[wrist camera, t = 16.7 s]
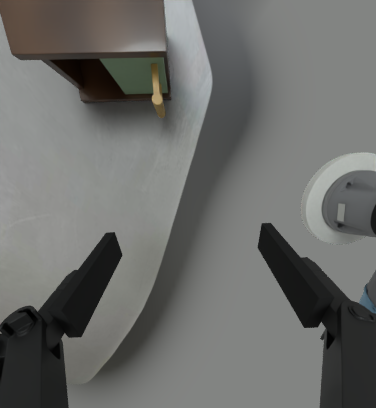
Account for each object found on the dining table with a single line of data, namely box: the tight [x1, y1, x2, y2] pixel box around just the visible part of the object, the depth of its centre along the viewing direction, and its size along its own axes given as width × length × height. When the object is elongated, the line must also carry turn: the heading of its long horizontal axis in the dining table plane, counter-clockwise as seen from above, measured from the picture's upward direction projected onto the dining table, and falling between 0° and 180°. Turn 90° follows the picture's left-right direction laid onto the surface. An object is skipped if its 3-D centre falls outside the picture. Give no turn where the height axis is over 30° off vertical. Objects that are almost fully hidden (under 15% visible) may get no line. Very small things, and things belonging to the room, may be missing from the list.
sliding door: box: [100, 57, 168, 118], centre depth 23 cm, size 8×6×10 cm
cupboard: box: [0, 0, 171, 103], centre depth 22 cm, size 16×10×13 cm, turn 93°
